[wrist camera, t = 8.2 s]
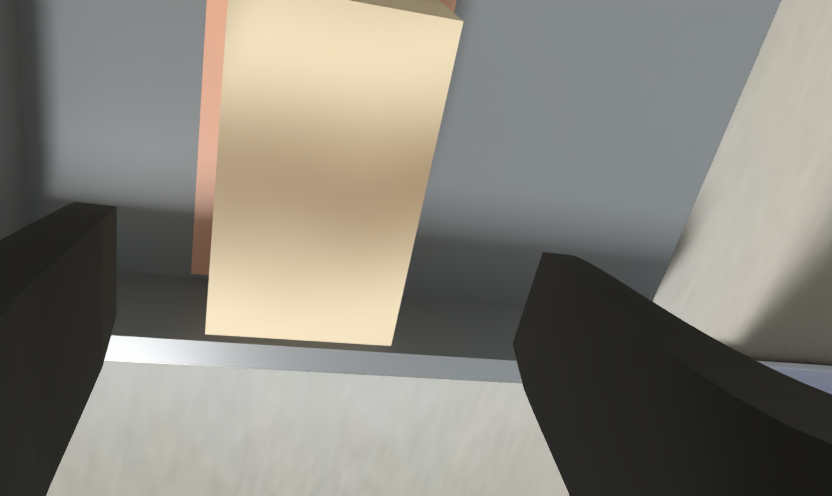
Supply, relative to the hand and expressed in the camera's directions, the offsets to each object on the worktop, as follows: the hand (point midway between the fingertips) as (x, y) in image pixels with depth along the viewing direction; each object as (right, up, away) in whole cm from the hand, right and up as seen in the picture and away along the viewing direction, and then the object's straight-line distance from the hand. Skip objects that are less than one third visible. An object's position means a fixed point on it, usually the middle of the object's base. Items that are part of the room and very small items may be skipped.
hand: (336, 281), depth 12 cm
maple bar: (-1, +4, +7) cm, 8 cm away
